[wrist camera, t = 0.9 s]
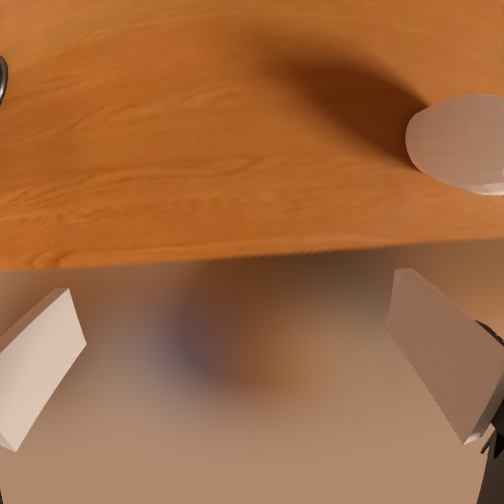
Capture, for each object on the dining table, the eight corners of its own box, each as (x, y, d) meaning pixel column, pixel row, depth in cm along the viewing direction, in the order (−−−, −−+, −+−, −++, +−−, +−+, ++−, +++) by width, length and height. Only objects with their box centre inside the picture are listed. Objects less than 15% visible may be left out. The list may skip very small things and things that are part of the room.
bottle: (468, 137, 34) (610, 151, 10) (438, 198, 37) (585, 253, 12) (417, 87, 32) (566, 52, 8) (382, 150, 35) (546, 161, 10)
